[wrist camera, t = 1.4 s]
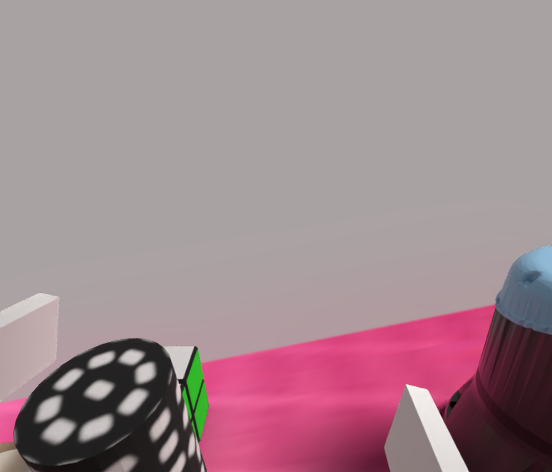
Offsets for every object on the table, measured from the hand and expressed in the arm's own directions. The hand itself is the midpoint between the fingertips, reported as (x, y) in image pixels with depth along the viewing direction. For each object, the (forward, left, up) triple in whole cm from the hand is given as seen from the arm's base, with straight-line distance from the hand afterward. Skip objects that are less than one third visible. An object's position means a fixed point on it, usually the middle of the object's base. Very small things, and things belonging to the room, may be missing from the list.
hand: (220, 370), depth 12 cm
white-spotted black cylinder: (+7, -5, -26) cm, 28 cm away
